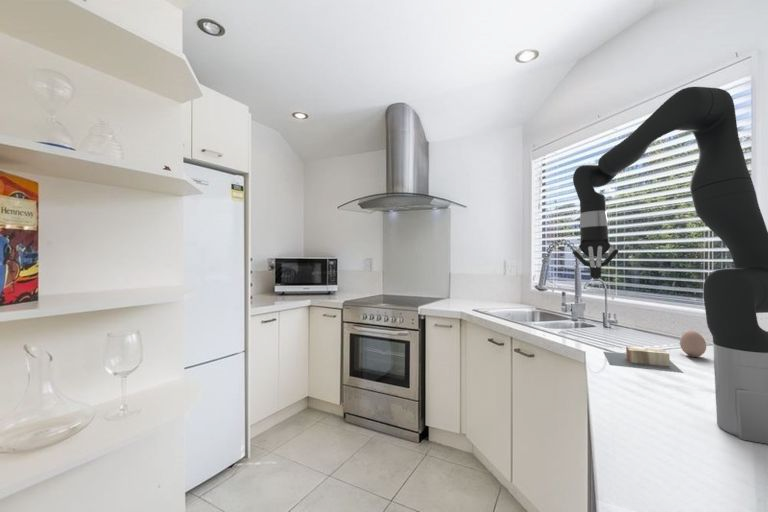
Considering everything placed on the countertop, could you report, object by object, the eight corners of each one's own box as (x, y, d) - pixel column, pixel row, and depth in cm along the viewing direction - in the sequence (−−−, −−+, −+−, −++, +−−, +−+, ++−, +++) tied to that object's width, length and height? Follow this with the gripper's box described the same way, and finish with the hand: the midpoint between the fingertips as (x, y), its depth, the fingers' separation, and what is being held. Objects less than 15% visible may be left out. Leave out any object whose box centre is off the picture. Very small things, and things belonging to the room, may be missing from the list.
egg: (712, 359, 106) (710, 332, 107) (688, 359, 108) (687, 332, 108) (697, 354, 113) (696, 328, 113) (675, 353, 114) (674, 328, 114)
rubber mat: (683, 375, 94) (683, 372, 94) (610, 367, 102) (609, 364, 102) (667, 359, 108) (666, 357, 108) (603, 353, 116) (603, 351, 116)
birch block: (629, 362, 104) (669, 366, 99) (629, 350, 104) (669, 353, 99) (626, 357, 109) (665, 361, 104) (626, 346, 109) (664, 349, 104)
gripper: (570, 226, 103) (572, 279, 102) (620, 223, 96) (623, 279, 96) (569, 228, 109) (571, 278, 109) (616, 225, 103) (618, 278, 103)
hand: (595, 278), depth 103 cm, fingers closed
